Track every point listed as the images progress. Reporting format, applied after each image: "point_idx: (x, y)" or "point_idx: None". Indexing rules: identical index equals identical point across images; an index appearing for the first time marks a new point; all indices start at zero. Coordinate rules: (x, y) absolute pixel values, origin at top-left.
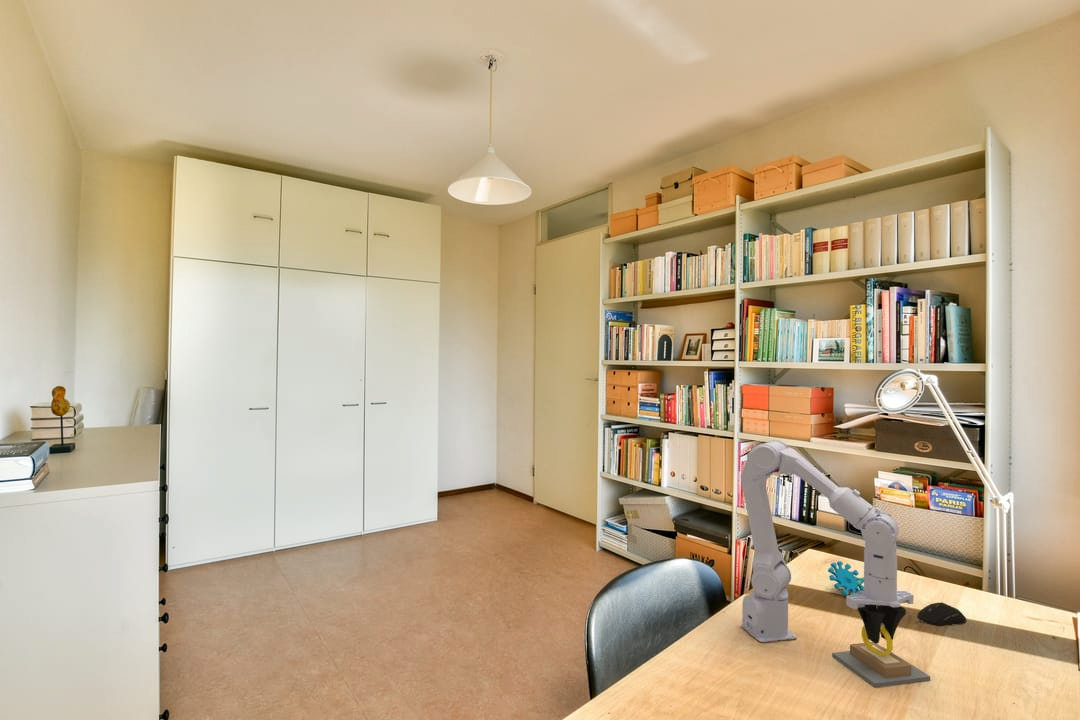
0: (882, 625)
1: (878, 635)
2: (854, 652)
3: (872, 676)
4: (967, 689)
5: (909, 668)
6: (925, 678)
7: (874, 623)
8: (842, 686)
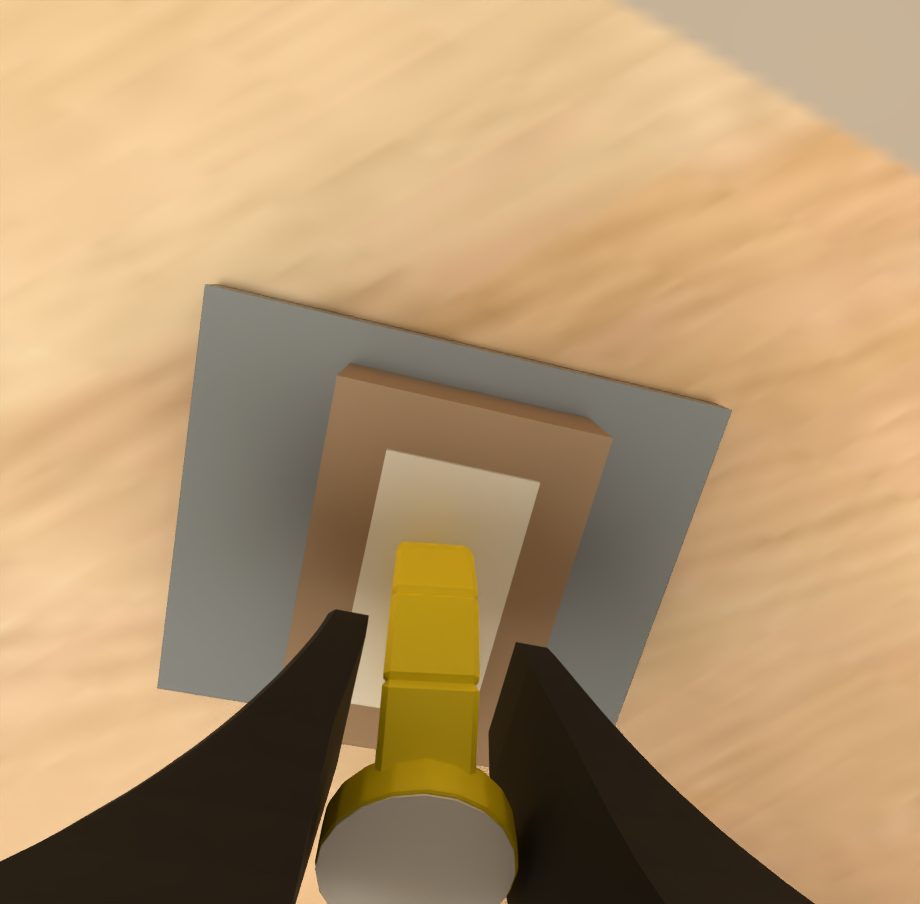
0: (399, 812)
1: (567, 695)
2: None
3: (651, 474)
4: (28, 60)
5: (362, 374)
6: (261, 297)
7: (760, 866)
8: (887, 501)
